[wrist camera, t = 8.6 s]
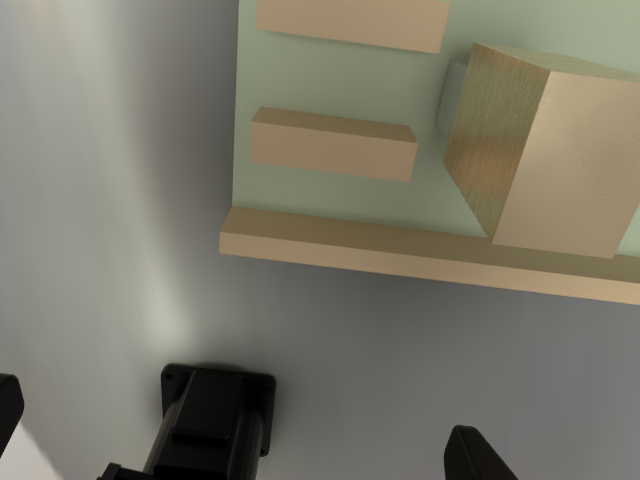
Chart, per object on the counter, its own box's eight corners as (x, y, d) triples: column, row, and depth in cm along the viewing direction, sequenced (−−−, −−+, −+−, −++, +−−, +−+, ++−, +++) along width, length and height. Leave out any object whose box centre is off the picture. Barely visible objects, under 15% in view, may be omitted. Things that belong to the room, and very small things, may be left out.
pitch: (785, 285, 23) (856, 331, 20) (235, 216, 22) (218, 253, 19) (1027, -49, 16) (1192, -59, 13) (250, -165, 15) (228, -204, 12)
